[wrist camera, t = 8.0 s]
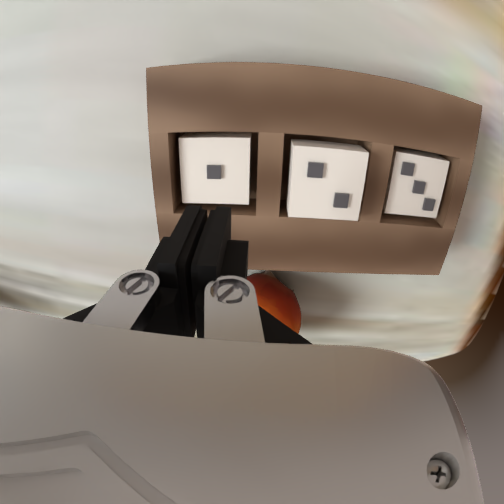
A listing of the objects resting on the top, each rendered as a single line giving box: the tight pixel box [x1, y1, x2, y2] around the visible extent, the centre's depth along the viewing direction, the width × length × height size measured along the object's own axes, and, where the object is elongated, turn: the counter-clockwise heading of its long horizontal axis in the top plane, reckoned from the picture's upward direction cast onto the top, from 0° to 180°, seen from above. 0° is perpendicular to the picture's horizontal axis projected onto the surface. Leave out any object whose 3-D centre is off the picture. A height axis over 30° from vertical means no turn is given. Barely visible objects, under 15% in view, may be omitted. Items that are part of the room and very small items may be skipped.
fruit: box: [247, 270, 301, 333], centre depth 28 cm, size 8×8×8 cm
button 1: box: [179, 132, 252, 205], centre depth 20 cm, size 4×4×2 cm
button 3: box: [382, 146, 450, 218], centre depth 20 cm, size 4×4×2 cm
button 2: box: [286, 139, 369, 221], centre depth 19 cm, size 4×4×2 cm
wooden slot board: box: [146, 62, 482, 275], centre depth 21 cm, size 14×22×5 cm, turn 89°
